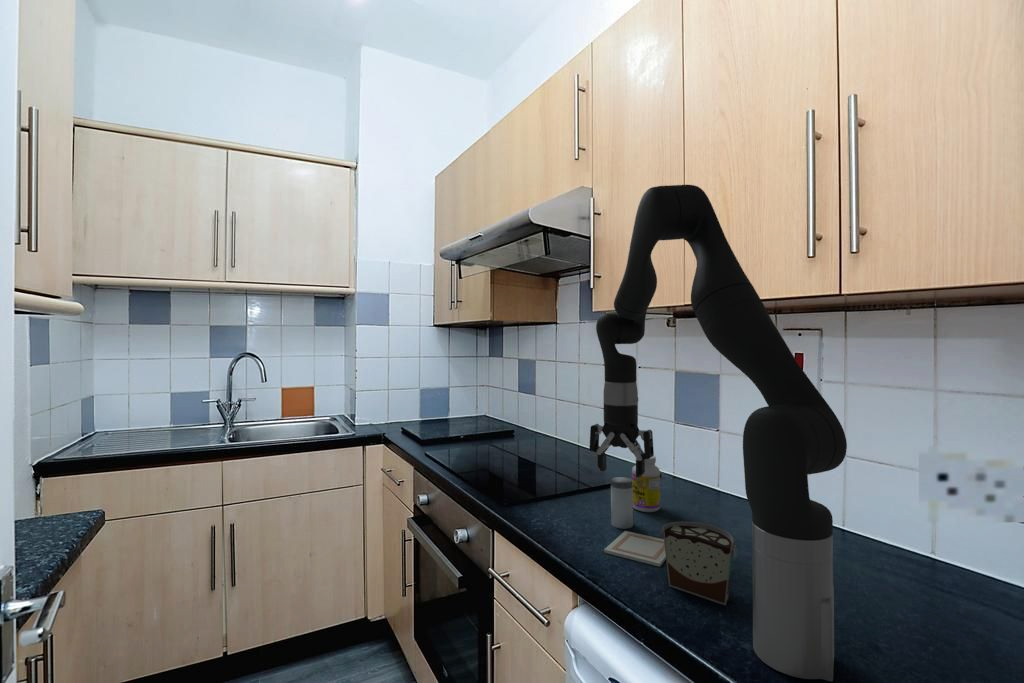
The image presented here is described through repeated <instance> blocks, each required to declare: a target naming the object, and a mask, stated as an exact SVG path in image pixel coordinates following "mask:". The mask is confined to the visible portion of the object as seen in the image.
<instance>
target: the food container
mask: <svg viewBox="0 0 1024 683" xmlns="http://www.w3.org/2000/svg"><path fill="white" fill-rule="evenodd" d="M659 537H660V538H663V539H664V544H665V553H666V560H665V561H666V571H667V580H668V581H667V582H668V587H671V588H674V589H676V590H679V591H682V592H685V593H688V594H691V595H693V596H697V597H699V598H703V599H705V600H709V601H712V602H713V603H716V604H719V605H723V606H727V604H728V602H729V593H730V583H731V574H732V565H733V564H732V563H733V558H734V559H735V558H737V556H738V551H737V546H736V541H735V540H734V537H733V535H731V533H729V532H728V531H727V530H724V529H722V528H720V527H718V526H715V525H711V524H708V523H702V522H697V521H674V522H669V523H666V524H664V525H662V529H661V531H660V536H659Z"/></svg>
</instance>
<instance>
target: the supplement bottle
mask: <svg viewBox="0 0 1024 683" xmlns="http://www.w3.org/2000/svg"><path fill="white" fill-rule="evenodd" d="M636 460H637V458H636V457H635V461H636ZM656 462H657V460H656V455H654V456H653V457H651V458H649V459H645V472H644V474H643V475H642V476H641V477H640V478H639V477H636V464H635V465H634V466H632V469H631V479H632V480H633V509H635V511H636V510H637V511H640V512H644V513H654V512H657V511H659V510H660V508H661V471H660V468H659V467H658V466H657V465H656Z"/></svg>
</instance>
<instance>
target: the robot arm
mask: <svg viewBox="0 0 1024 683" xmlns="http://www.w3.org/2000/svg"><path fill="white" fill-rule="evenodd" d="M672 240H685V242H687V243H688V244H689V247H690V248H691V250H692V253H693V255H694V257H695V260H696V268H695V271H694V272H695V273H694V277H693V281H692V285H691V292H690V304H691V307H692V311H693V313H694V315H695V317H696V319H697V321H698V323H699V325H700V327H701V330H702V331H703V333H704V335H705V337H706V338H707V340H708V341H709V343H710V344H711V346H713V348H714V349H716V351H718V352H719V353H720V354H721V355H722V356H723V357H724V358H725V359H726V360H727V361H729V363H731V364H732V365H733V366H735V367H736V368H737V369H738V370H740V371H741V372H742V373H743V374H744V375H745V376H746V377H747V378H748V379H749V380H750V381H751V382H752V383H753V384H754V385H755V387H756V388H757V389H758V391H759V393H760V394H761V395H762V397H763V399H764V401H765V402H766V404H767V406H764V407H758V408H757V409H756V410H754V411H753V412H752V413H751V414H750V415H749V416H748V417H747V420H746V422H745V424H744V428H743V433H742V434H743V435H742V457H743V472H744V486H745V495H746V498H747V502H748V504H749V507H750V509H751V523H752V524H751V525H752V526H751V530H752V531H751V532H752V534H751V535H752V536H751V537H752V538H751V540H752V543H751V544H752V546H751V547H752V549H751V551H752V552H751V554H752V563H751V564H752V646H753V647H752V648H753V651H754V653H755V655H756V656H757V657H758V658H759V659H760V660H761V662H763V663H764V664H766V665H767V666H768V667H770V668H771V669H773V670H775V671H777V672H780V673H782V674H784V675H787V676H790V677H794V678H798V679H803V680H824V681H828V682H833V681H834V669H835V668H834V666H835V664H834V663H835V594H834V593H835V591H834V590H835V586H834V568H833V567H834V557H833V556H834V554H833V552H834V550H833V549H834V546H833V545H834V544H833V540H834V539H833V538H834V537H833V535H834V534H833V531H834V521H833V515H832V512H831V510H830V509H829V508H828V507H827V506H825V505H824V504H822V503H820V502H818V501H815V500H812V499H811V498H810V489H809V478H808V475H815V474H821V473H825V472H829V471H832V470H834V469H836V468H837V469H838V467H839V466H840V465H842V463H843V462H844V460H845V458H846V455H847V449H848V443H847V438H846V434H845V431H844V428H843V426H842V424H841V421H840V420H839V419H838V417H837V414H835V411H833V409H832V408H831V407H830V405H829V403H828V402H827V401H826V399H825V398H824V397H823V396H822V394H821V393H820V392H819V390H818V389H817V387H816V386H815V385H814V383H813V381H811V379H810V378H809V377H808V376H807V374H806V373H805V371H804V370H803V369H802V367H801V365H800V364H799V363H798V360H797V359H796V358H795V356H794V354H793V353H792V352H791V349H790V348H789V346H788V344H787V343H786V341H785V339H784V337H783V336H782V334H781V333H780V331H779V330H778V328H777V326H776V325H775V323H774V321H773V320H772V318H771V316H770V314H769V313H768V310H767V307H765V304H764V303H763V301H762V299H761V298H760V296H759V294H758V293H757V290H756V289H755V288H754V286H753V284H752V283H751V281H750V279H749V278H748V276H747V275H746V272H745V271H744V270H743V267H742V266H741V264H740V262H739V261H738V259H737V256H736V255H735V252H734V250H733V249H732V247H731V246H730V244H729V242H728V240H727V237H726V235H725V233H724V231H723V227H722V226H721V223H720V221H719V219H718V216H717V214H716V211H715V209H714V206H713V205H712V202H711V201H710V199H709V196H708V195H707V193H706V192H705V191H704V190H703V189H702V188H701V187H700V186H698V185H694V184H676V185H658V186H657V185H656V186H652V187H650V188H648V189H647V190H646V191H645V192H644V193H643V194H642V197H641V198H640V201H639V203H638V207H637V209H636V214H635V218H634V224H633V230H632V234H631V238H630V244H629V251H628V256H627V262H626V267H625V270H624V274H623V276H622V280H621V282H620V285H619V288H618V290H617V292H616V296H615V297H614V301H613V308H614V310H615V312H603V313H602V314H601V315H599V317H598V319H597V322H596V325H595V329H596V334H597V338H598V342H599V346H600V348H601V353H602V358H603V366H604V386H603V425H600V424H599V423H596V424H593V425H591V426H590V430H589V432H590V434H589V450H590V451H591V452H595V453H596V454H597V468H598V469H599V471H600V472H605V471H606V470H607V453H606V452H607V451H608V449H609V448H610V447H611V446H612V447H613V448H617V447H620V448H621V449H628V450H629V452H631V453H632V454H633V455H634V457H635V465H636V477H639V478H640V477H641V476H642V475H643V474H644V472H645V459H649V458H651V457H653V456H655V453H654V452H655V451H654V450H655V449H654V438H653V435H654V434H653V431H652V430H651V429H646V430H644V429H643V430H640V429H639V425H638V424H639V413H638V412H639V397H638V396H639V395H638V394H639V393H638V384H637V382H638V381H637V359H636V357H634V356H632V355H630V354H624V353H620V352H619V351H618V349H617V347H616V345H633V344H636V343H639V342H640V341H641V340H642V339H643V338H644V337H645V336H644V335H645V330H646V329H645V328H646V317H647V310H648V309H649V307H650V304H651V302H652V300H653V297H654V295H655V293H656V290H657V288H658V286H657V285H658V277H657V272H656V269H655V267H654V264H653V263H654V262H653V260H652V252H653V250H654V248H655V246H656V245H657V243H658V242H659V241H672ZM602 433H603V434H602ZM601 434H602V435H604V437H605V439H604V440H603V442H602V443H601V444H600V435H601ZM639 436H640V438H641V440H642V441H643V449H644V450H643V449H642V446H641V444H640V443H639V441H638V440H637V439H638V438H639ZM636 458H637V460H636Z"/></svg>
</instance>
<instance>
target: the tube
mask: <svg viewBox="0 0 1024 683" xmlns="http://www.w3.org/2000/svg"><path fill="white" fill-rule="evenodd" d="M610 523H611V524H610V525H611V526H612V527H613V528H616V529H620V530H621V529H624V530H626V529H631V528H632V527H634V507H633V480H632V478H629V477H624V476H623V477H621V476H619V477H618V476H617V477H612V478H611V479H610Z"/></svg>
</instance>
